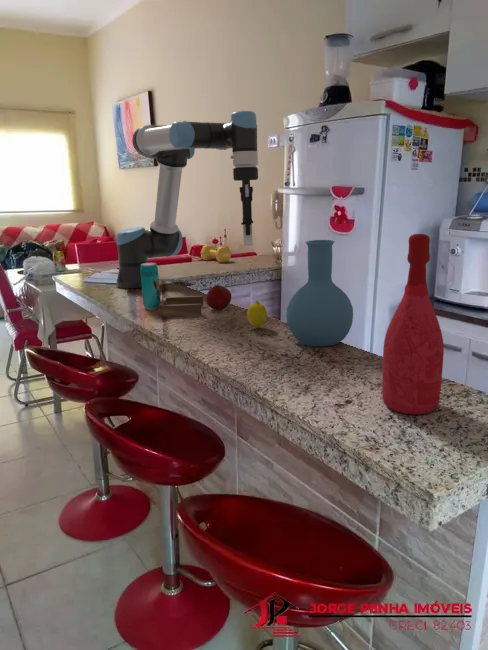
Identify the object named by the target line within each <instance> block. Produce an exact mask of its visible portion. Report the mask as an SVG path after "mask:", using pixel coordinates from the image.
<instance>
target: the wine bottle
mask: <svg viewBox="0 0 488 650" xmlns="http://www.w3.org/2000/svg"><path fill="white" fill-rule="evenodd" d="M430 243H431V240H430V236H429V235H427V234H425V233H413V234H411V235H410V236H409V238H408V253H407V257H406V258H407V262H408V264H409V269H408V275H407V281H406V282H407V283H406V284H405V286H404V293H403V296H402V298H401V300H400V303H399V304H398V306H397V308H396V309H395V312H394V314H393V316H392V318H391V320H390V322H389V325H388V327H387V330H386V333H385V336H384V341H383V349H382V351H383V353H382V382H381V383H382V386H381V387H382V392H381V395H382V401H383V404H384V405H385V406H387V407H388V408H389V409H390V410H392V411H395V412H397V413H400V414H406V415H425V414H429V413H431V412H433V411H435V410H436V409H437V408H438V406H439V402H440V397H441V390H442V389H441V388H442V379H443V378H442V377H443V367H444V353H445V352H444V350H445V349H444V345H445V344H444V336H443V333H442V329H441V326H440V323H439V320H438V317H437V315H436V312H435V309H434V307H433V304H432V302H431V299H430V296H429V295H430V294H429V288H428V283H427V264H428V262H430V260H431V255H430Z"/></svg>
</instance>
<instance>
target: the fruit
mask: <svg viewBox="0 0 488 650" xmlns="http://www.w3.org/2000/svg"><path fill="white" fill-rule="evenodd" d="M246 318H247V321H248V322H249V324H250V325H251V326H254V327H255V328H256V329H261V327H262V326H263V325H264V324H265V322H266V321H267V318H268V313H267V309H266V306H265V305H264V304H263V303H260V302H259V300H255V302H254V303H252V304H250V305H249V306H248V309H247V311H246Z"/></svg>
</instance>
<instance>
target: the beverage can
mask: <svg viewBox="0 0 488 650" xmlns="http://www.w3.org/2000/svg"><path fill="white" fill-rule="evenodd" d="M140 273H141V284H142V287H141V293H142V304H143V306H144V308H145V309H146V310H148V311H153V310H159V309H158V306H159V304H160V302H161V301H162V299H161V291H160V290H161V289H160V279H159V278H160V277H159V268H158V264H157V263H156V262H148V263H143V264H141V268H140Z"/></svg>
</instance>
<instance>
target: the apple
mask: <svg viewBox="0 0 488 650" xmlns="http://www.w3.org/2000/svg"><path fill="white" fill-rule="evenodd" d="M205 299H206V304H207V305H208V307H209V308H210V309H212V310H214V311H222V310H224V309H226V308H228V307H229V305H230V303H231V301H232V294H231V291H230V290H229V289H228V288H227V287H224V286H222V285H219V284H217V285H214V286H213V287H211V288H210V289H209V290H208V292H207V294H206V298H205Z"/></svg>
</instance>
